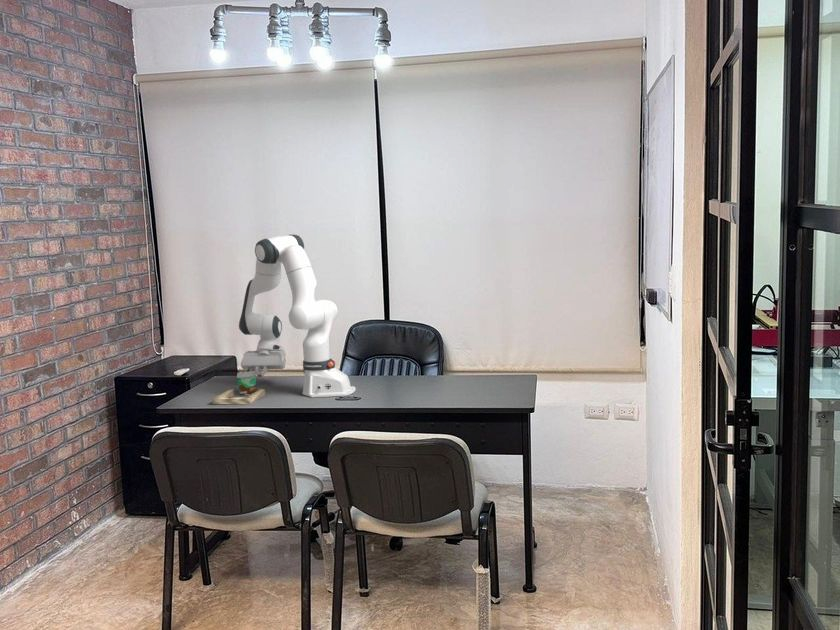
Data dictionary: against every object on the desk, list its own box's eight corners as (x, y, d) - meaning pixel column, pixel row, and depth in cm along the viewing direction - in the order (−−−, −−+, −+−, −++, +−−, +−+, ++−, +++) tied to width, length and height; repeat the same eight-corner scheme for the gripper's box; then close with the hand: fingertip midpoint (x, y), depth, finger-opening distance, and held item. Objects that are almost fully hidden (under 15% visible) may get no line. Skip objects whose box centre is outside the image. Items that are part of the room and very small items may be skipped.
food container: (252, 396, 346) (250, 373, 345) (238, 396, 347) (236, 373, 346) (263, 389, 358) (261, 367, 357) (250, 389, 359) (248, 367, 358)
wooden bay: (265, 394, 347) (264, 389, 347) (249, 404, 331) (248, 398, 330) (229, 395, 350) (229, 389, 350) (212, 404, 334) (212, 398, 333)
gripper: (242, 347, 370) (235, 372, 362) (285, 346, 366) (279, 372, 358) (247, 355, 375) (240, 380, 367) (289, 354, 371) (283, 380, 363)
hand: (259, 376), depth 362 cm, fingers closed
